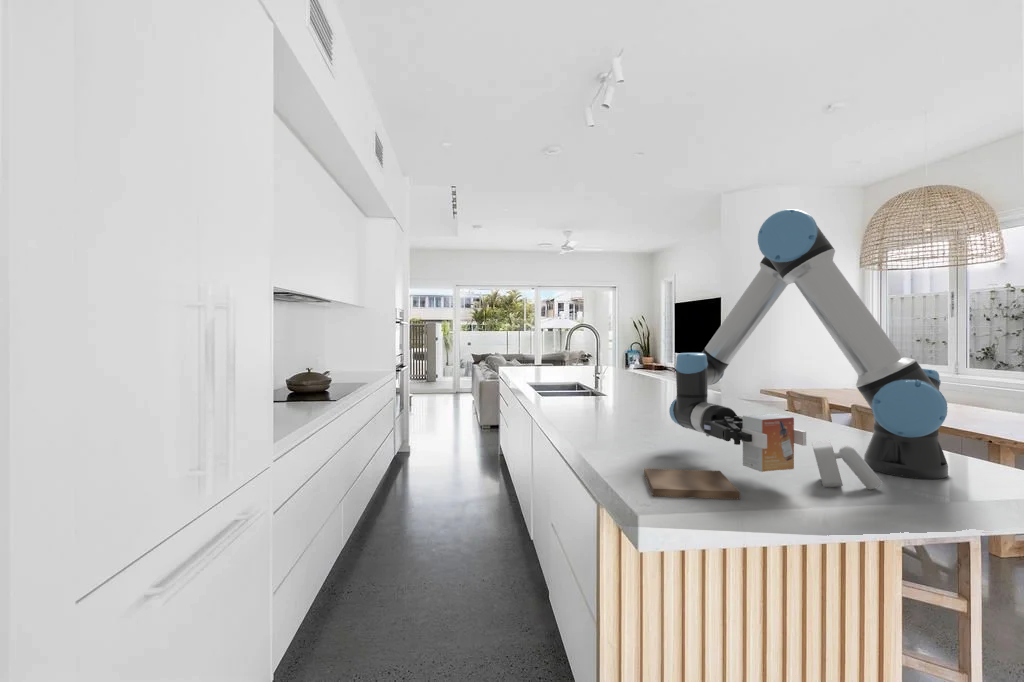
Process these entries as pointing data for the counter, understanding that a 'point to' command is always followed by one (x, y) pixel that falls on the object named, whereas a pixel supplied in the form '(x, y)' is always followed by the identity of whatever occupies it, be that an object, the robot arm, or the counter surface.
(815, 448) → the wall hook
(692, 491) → the board
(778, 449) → the small box
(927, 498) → the counter surface
